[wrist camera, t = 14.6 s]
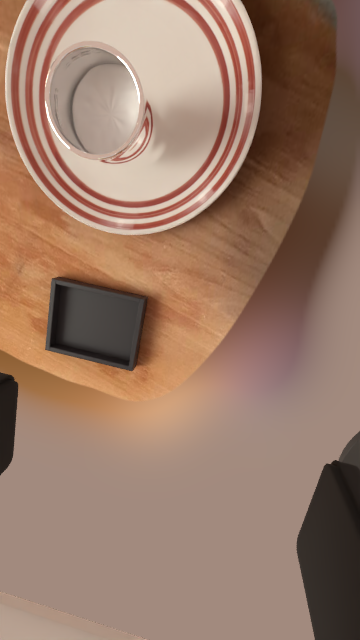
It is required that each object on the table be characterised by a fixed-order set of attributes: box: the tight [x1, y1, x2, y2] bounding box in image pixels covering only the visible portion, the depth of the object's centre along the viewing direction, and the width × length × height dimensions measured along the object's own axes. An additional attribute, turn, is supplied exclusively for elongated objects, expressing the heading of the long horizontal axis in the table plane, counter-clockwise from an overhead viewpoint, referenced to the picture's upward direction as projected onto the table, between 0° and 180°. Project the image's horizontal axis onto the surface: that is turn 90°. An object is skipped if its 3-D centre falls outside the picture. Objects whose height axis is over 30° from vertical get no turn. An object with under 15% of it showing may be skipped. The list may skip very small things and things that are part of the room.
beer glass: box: [45, 41, 169, 166], centre depth 28 cm, size 7×7×15 cm
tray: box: [45, 277, 148, 371], centre depth 44 cm, size 12×10×2 cm
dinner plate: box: [5, 0, 262, 235], centre depth 36 cm, size 28×27×3 cm
